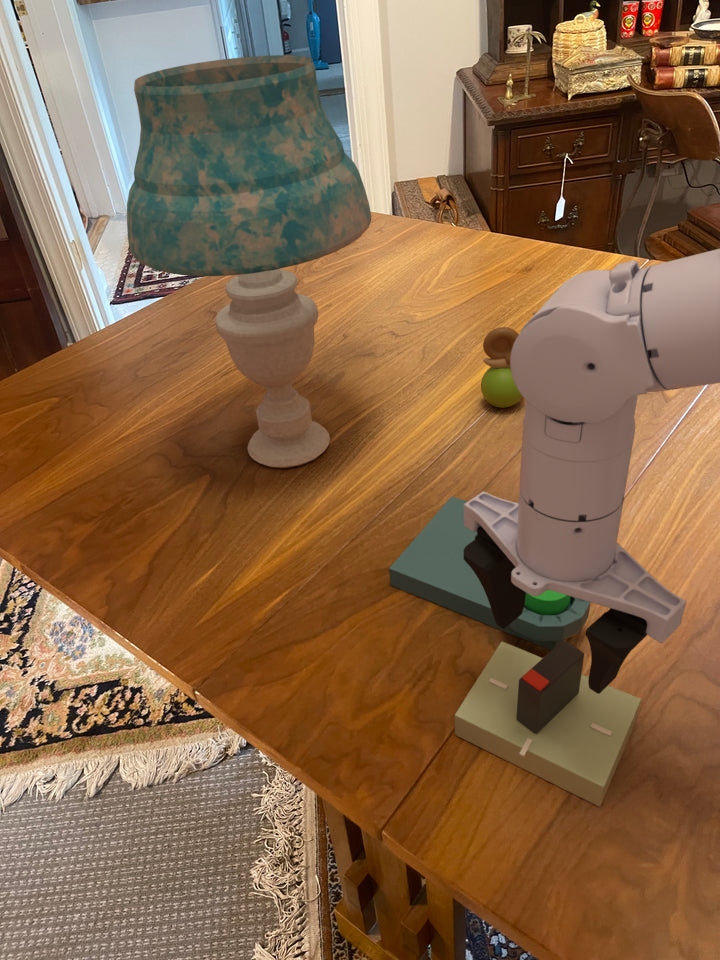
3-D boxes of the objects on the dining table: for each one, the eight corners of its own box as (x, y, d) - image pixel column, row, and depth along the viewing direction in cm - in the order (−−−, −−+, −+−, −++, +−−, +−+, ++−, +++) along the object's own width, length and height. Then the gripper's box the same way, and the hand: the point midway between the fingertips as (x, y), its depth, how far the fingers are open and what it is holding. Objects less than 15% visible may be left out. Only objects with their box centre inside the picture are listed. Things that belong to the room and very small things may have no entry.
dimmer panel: (639, 713, 55) (644, 691, 53) (596, 815, 49) (601, 793, 47) (503, 656, 60) (504, 634, 59) (450, 741, 54) (450, 719, 53)
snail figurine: (536, 413, 89) (542, 322, 82) (483, 417, 90) (484, 326, 82) (529, 391, 94) (534, 302, 86) (478, 394, 94) (479, 306, 87)
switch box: (621, 569, 67) (627, 536, 65) (566, 672, 58) (570, 638, 56) (451, 512, 76) (451, 481, 73) (381, 595, 67) (378, 563, 65)
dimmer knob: (558, 679, 55) (563, 636, 52) (579, 693, 54) (585, 650, 51) (515, 719, 52) (518, 677, 50) (536, 735, 51) (540, 692, 49)
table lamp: (227, 537, 76) (117, 110, 52) (167, 432, 93) (65, 78, 69) (425, 462, 83) (409, 59, 59) (336, 378, 101) (296, 42, 77)
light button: (577, 590, 61) (579, 575, 59) (559, 622, 58) (560, 607, 57) (531, 574, 62) (533, 559, 61) (512, 604, 60) (512, 589, 59)
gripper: (429, 469, 44) (434, 624, 52) (648, 590, 35) (613, 755, 43) (505, 422, 47) (499, 573, 56) (723, 520, 38) (678, 685, 46)
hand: (553, 649), depth 49 cm, fingers open, 7 cm apart
